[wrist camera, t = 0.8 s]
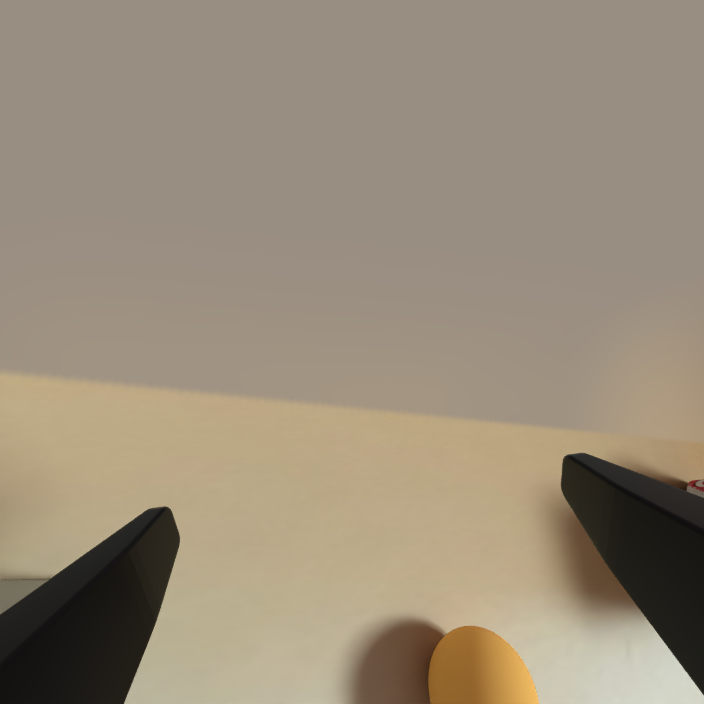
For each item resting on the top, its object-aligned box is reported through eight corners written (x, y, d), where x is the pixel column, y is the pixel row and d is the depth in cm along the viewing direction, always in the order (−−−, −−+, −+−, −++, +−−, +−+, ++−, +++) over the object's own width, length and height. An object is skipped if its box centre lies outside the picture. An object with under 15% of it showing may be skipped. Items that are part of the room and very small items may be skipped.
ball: (455, 769, 17) (543, 842, 13) (391, 682, 17) (457, 727, 13) (497, 667, 20) (579, 701, 16) (441, 595, 20) (508, 610, 16)
